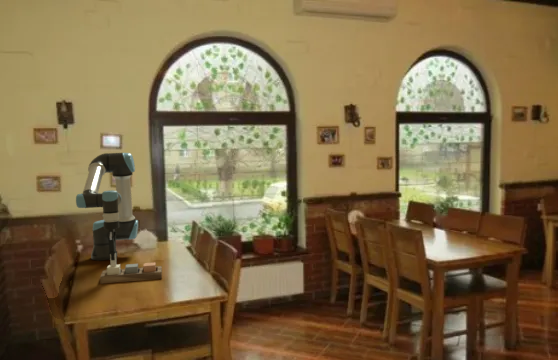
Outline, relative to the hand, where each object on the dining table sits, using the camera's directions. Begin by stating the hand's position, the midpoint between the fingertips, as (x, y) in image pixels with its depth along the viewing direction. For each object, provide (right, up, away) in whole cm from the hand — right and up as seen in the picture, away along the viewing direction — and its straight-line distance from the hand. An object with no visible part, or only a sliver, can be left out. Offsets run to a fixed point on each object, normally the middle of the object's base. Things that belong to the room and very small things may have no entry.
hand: (113, 265), depth 249 cm
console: (+9, -7, +3) cm, 11 cm away
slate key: (+9, -5, +3) cm, 10 cm away
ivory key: (0, -5, +1) cm, 5 cm away
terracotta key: (+18, -4, +5) cm, 19 cm away
